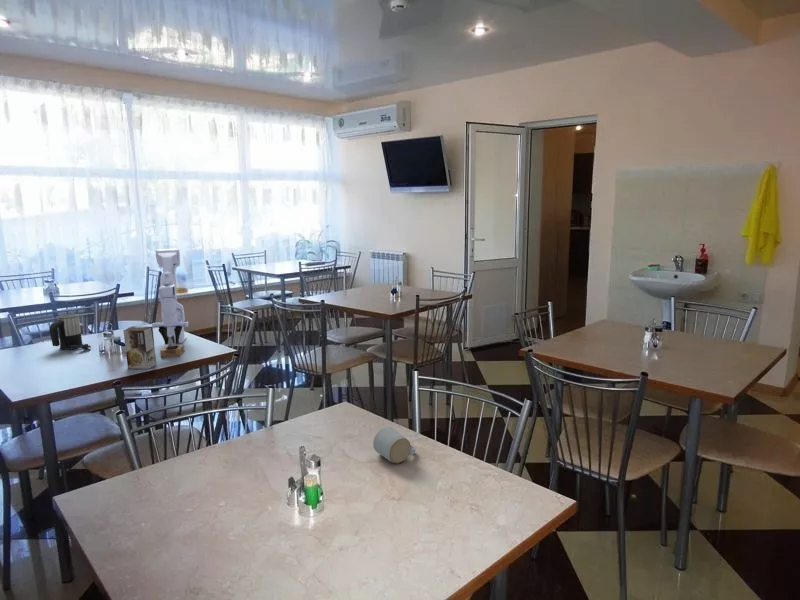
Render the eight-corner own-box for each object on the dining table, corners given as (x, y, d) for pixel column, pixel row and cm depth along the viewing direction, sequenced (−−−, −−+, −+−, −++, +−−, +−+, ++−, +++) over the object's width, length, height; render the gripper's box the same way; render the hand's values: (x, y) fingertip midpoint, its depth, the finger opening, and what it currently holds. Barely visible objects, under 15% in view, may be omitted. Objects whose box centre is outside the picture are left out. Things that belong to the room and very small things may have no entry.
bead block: (165, 351, 237) (165, 345, 236) (184, 350, 238) (184, 344, 237) (160, 357, 229) (160, 350, 228) (180, 356, 230) (179, 349, 229)
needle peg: (170, 353, 235) (168, 335, 233) (177, 352, 235) (175, 335, 233) (168, 355, 232) (165, 337, 230) (175, 354, 232) (172, 337, 230)
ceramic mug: (390, 468, 136) (390, 440, 135) (372, 456, 142) (372, 429, 141) (422, 457, 142) (423, 430, 141) (403, 445, 149) (404, 420, 147)
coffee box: (157, 364, 219) (153, 326, 216) (148, 369, 213) (144, 330, 210) (136, 363, 220) (132, 325, 217) (126, 368, 214) (122, 329, 211)
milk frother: (67, 344, 248) (63, 313, 246) (101, 343, 249) (98, 313, 246) (49, 353, 235) (44, 320, 232) (85, 352, 235) (81, 320, 232)
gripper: (148, 315, 225) (151, 346, 227) (184, 314, 227) (187, 344, 230) (153, 311, 231) (156, 341, 234) (188, 310, 234) (190, 340, 236)
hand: (171, 343), depth 232 cm, fingers open, 4 cm apart
